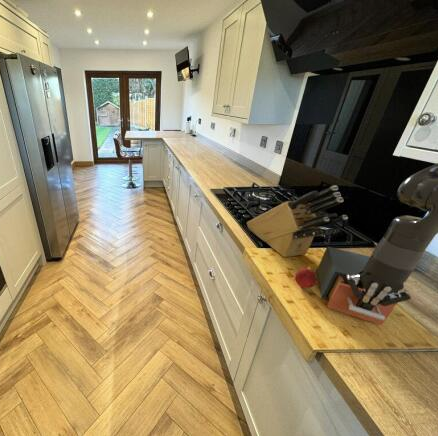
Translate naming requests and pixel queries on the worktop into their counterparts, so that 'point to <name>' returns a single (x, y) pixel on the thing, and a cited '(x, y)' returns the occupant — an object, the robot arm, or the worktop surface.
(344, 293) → the drawer
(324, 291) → the cabinet
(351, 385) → the worktop surface
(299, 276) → the onion
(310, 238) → the knife block
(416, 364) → the worktop surface
